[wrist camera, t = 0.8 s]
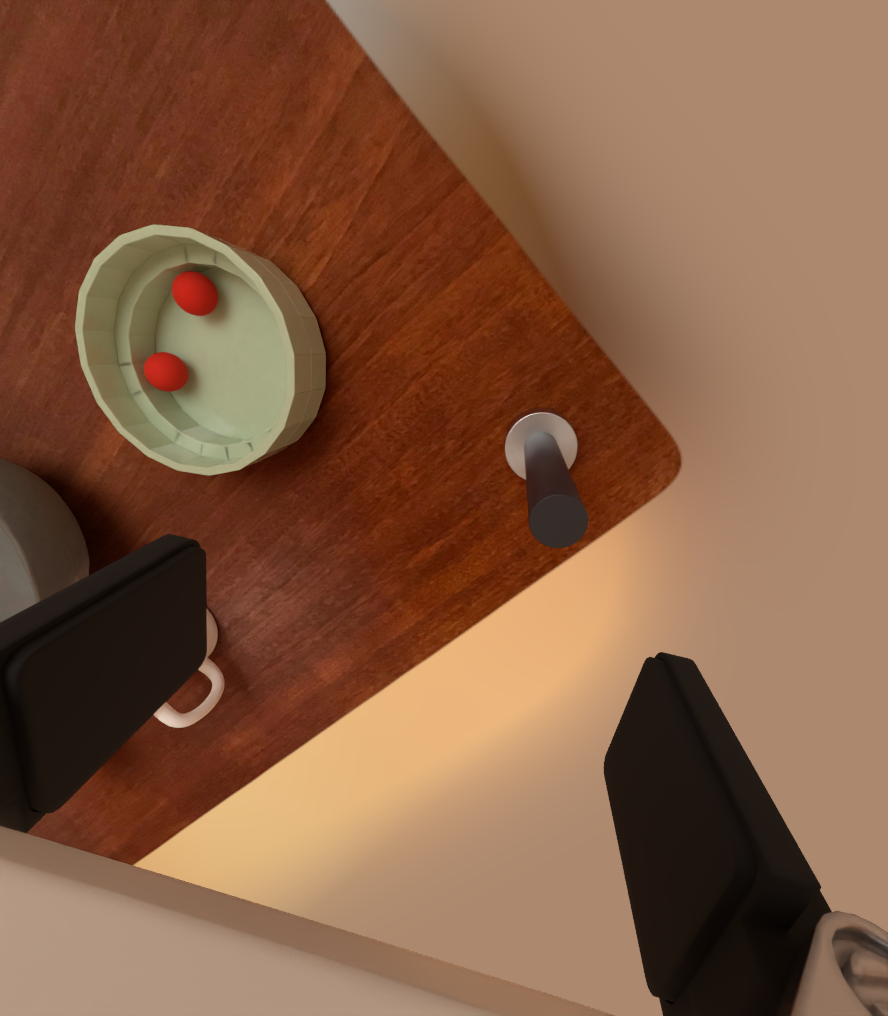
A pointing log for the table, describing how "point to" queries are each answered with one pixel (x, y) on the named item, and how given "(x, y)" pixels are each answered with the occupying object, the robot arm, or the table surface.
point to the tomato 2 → (195, 293)
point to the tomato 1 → (166, 371)
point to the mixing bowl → (200, 351)
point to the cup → (217, 679)
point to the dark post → (547, 475)
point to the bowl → (35, 541)
